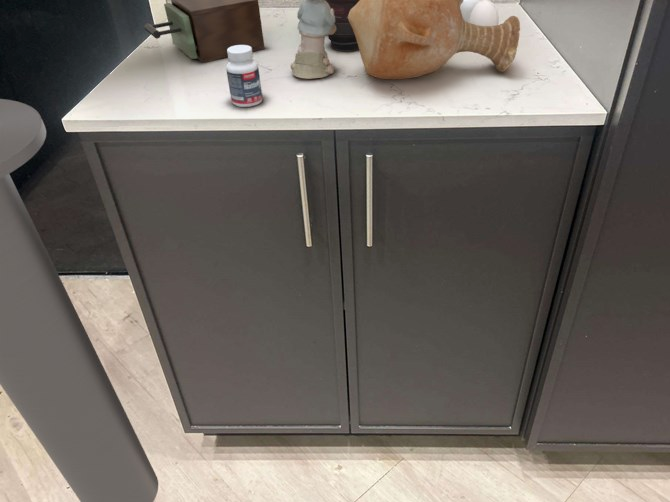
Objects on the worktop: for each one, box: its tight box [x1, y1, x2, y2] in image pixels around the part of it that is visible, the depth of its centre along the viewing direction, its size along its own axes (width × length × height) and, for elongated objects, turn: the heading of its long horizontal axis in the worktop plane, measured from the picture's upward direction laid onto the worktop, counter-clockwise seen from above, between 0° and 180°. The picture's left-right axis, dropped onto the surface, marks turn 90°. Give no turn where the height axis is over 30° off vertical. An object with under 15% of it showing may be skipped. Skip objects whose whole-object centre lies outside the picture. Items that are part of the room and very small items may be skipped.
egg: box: [469, 0, 500, 26], centre depth 118 cm, size 6×6×8 cm
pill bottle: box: [225, 45, 263, 108], centre depth 95 cm, size 5×5×9 cm
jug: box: [348, 0, 521, 80], centre depth 101 cm, size 20×19×30 cm
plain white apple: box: [460, 0, 483, 23], centre depth 127 cm, size 7×7×8 cm
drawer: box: [143, 2, 199, 60], centre depth 114 cm, size 18×11×8 cm, turn 123°
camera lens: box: [326, 0, 359, 52], centre depth 114 cm, size 8×8×15 cm
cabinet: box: [170, 0, 266, 64], centre depth 116 cm, size 14×13×10 cm
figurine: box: [290, 0, 336, 80], centre depth 101 cm, size 9×8×20 cm
